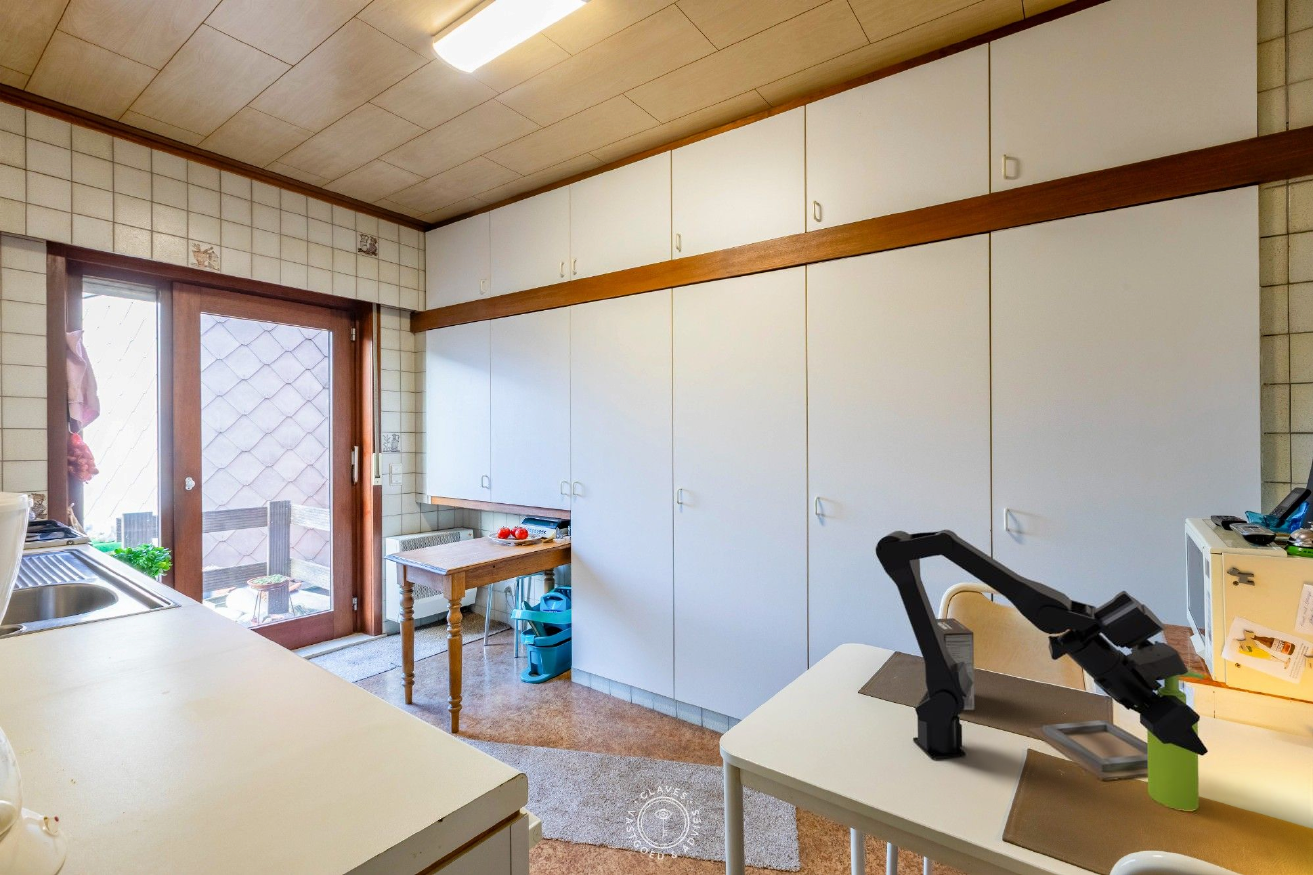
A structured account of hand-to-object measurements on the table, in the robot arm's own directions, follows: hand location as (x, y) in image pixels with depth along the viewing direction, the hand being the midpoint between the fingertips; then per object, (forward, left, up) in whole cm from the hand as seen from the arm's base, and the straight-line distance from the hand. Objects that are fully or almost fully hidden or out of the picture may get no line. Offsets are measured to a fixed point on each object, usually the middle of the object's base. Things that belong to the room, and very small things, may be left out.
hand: (1186, 738), depth 91 cm
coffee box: (-15, +36, -10) cm, 41 cm away
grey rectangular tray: (0, +14, -10) cm, 17 cm away
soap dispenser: (-1, 0, -10) cm, 10 cm away
